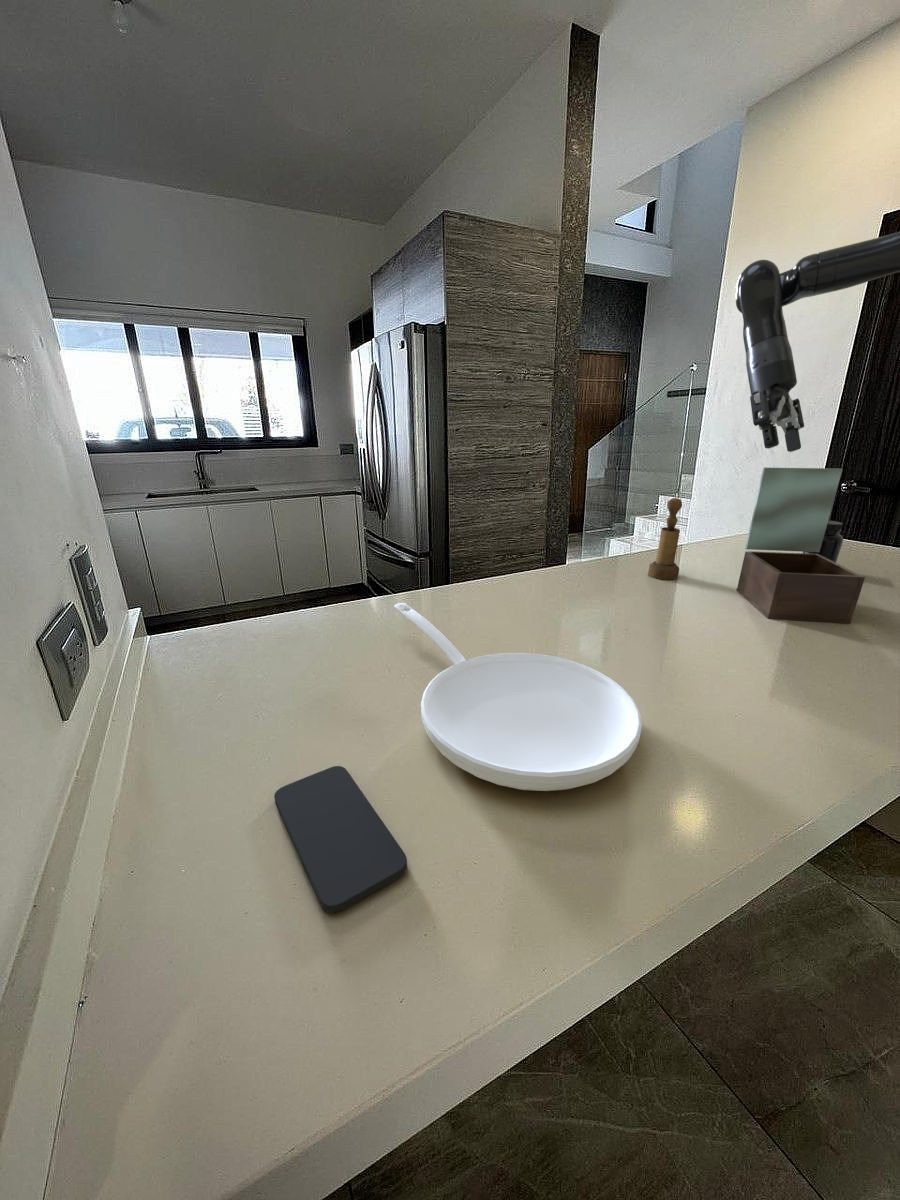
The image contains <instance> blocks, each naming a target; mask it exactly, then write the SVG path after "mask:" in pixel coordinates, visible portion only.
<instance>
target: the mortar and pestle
mask: <svg viewBox="0 0 900 1200" xmlns="http://www.w3.org/2000/svg"><path fill="white" fill-rule="evenodd" d="M666 507H667V510H668V512H669V513H668V514H669V515H668V517H667V518H666V526H664V527H661V529H660V535H659V541H658V546H657V547H658V548H657V553H656V559H655V560H653V562H651V563H650V564H649V566H648V570H647V575H648V576H649V577H651V578H654V579H657V580H661V581H662V580H663V581H673V580H676V579H678V578H679V573H680V567H679V566H678V565H677V563H675V560H676V554H677V550H678V549H677V548H678V545H679V538H680V533H681V530H680V529H679V528H677V527H676V525H677V523H678V521H679V519H678V517H677V514H678V513H679V511H680V510H681V509H682V507H683V501H682V500H681V499H680V498H678V497H672V498H670V499H669V500H668V501H667V504H666Z"/></svg>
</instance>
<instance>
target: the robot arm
mask: <svg viewBox="0 0 900 1200" xmlns="http://www.w3.org/2000/svg"><path fill="white" fill-rule="evenodd" d="M896 273H900V231H897V232H894V233H890V234H887V235H882V236H879V237H876V238H871V239H868V240H863V241H860V242H855V243H851V244H847V245H843V246H839V247H834V248H831V249H827V250H823V251H818V252H817V253H812V254H809V255H806V256H804V257H802V258H800V259H799V260H798V261H797V262H796V264H795V265H794V266H793V267H792V268H791V269H789V270H785V271H783V272H781V271H780V269H779V267H778V266H777V264H776V263H774V262H773V261H771V260H769V259H759V260H755V261H753V262H751V263H750V264H749V265H747V266H746V267H745V268H744V269H743V271H742V272H741V273H740V274H739V277H738V280H737V283H736V293H735V305H736V309H737V310H738V312H739V313H741V314H742V323H743V327H742V337H743V339H742V340H743V345H744V350H745V357H746V358H745V366H746V372H747V378H748V379H747V380H748V384H749V391H750V396H749V401H750V406H751V415H752V423H753V426H754V427H758V429H759V430H760V431H761V432H762V433H761V434H762V440H763V445H764V448H765V449H772V448H775V447H778V446H779V444H780V441H779V435H778V428H777V427H780V428H781V429H782V431H783V433H784V439H785V440H784V441H785V445H786V451H787V452H789V453H793V452H795V451H799V450H800V449H802V441H801V438H800V437H801V436H800V432H799V431H800V430H801V429H803V428H805V423H804V422H805V421H804V416H803V413H802V407H801V403H800V399H799V398H795V399H792V397H791V396H790V391H791V390H792V389H794V388H795V387H796V386H797V384H798V380H797V379H798V378H797V373H796V367H795V361H794V356H793V350H792V345H791V344H790V340H789V338H788V336H789V335H788V331H787V330H788V329H787V325H786V320H785V316H784V311H783V310H784V309H783V307H785V306H788V305H790V304H792V303H795V302H797V301H799V300H802V299H806V298H812V297H815V296H820V295H824V294H829V293H833V292H837V291H841V290H845V289H849V288H853V287H855V286H858V285H862V284H865V283H868V282H871V281H875V280H877V279H880V278H883V277H886V276H890V275H893V274H896Z"/></svg>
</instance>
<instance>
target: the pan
mask: <svg viewBox="0 0 900 1200" xmlns="http://www.w3.org/2000/svg"><path fill="white" fill-rule="evenodd" d="M392 608H393V609H394V610H395V611H396V612H398V613H400V614H401V615H402V616H403V617H404V618H406V619H407V620H409V622H410V623H412V624H413V625H414V626H416V628H418V629H419V630H420V631H421V632H422V633H423V634H425V635H426V637H428V638H429V640H431V641H432V642H433V643H434V645H436V646H437V647H438V648H439V649H440V650H441V651H442V652H443V654H444V655H445V656H446V657H447V658H448V660H449V661H450V662H451V663H452V665H451V666H449V667H447V668H445V669H444V670H442V671H441V672H439V673H438V674H437V675H436V676H435V677H433V679H431V680H430V681H429V683H428V685H427V686H426V688H425V690H424V691H423V694H422V698H421V701H420V710H421V720H422V725H423V727H424V729H425V731H426V734H427V736H428V739H429V740H430V741H431V742H432V743H433V745H434V747H436V749H437V750H438V751H439V753H441V755H442V756H444V758H446V759H447V760H448V761H450V762H451V763H453V764H454V766H456V767H458V768H460V769H462V770H463V771H465V772H466V773H469V774H470V775H473V776H474V777H476V778H479V779H481V780H484V781H487V782H488V783H489V782H490V783H493V784H495V785H498V786H501V787H502V786H503V787H507V788H513V789H517V790H521V791H536V792H537V791H538V792H550V791H551V792H553V791H564V790H571V789H574V788H575V789H576V788H579V787H582V786H587V785H590V784H594V783H596V782H598V781H600V780H602V779H604V778H606V777H609V776H611V775H612V774H614V772H617V770H619V769H620V768H621V767H623V766H624V765H625V764H626V763H627V762H628V761H629V760H630V758H631V757H632V755H633V754H634V753H635V751H636V749H637V747H638V745H639V742H640V738H641V734H642V730H643V722H642V715H641V712H640V709H639V708H638V705H637V703H636V701H635V700H634V699H633V697H632V696H631V695H630V693H628V691H627V690H626V689H625V688H623V687H622V686H621V685H620V684H619V683H617V682H616V681H615V680H613V679H612V678H610V677H608V676H607V675H605V674H603V673H602V672H600V671H598V670H596V669H594V668H592V667H589V666H587V665H584V664H582V663H579V662H576V661H573V660H569V659H567V658H564V657H558V656H554V655H549V654H540V653H534V652H499V653H497V652H496V653H492V654H491V653H490V654H484V655H480V656H476V657H471V658H468V659H466V657H464V656H463V655H462V654H461V652H460V651H459V650H458V649H457V648H456V646H455V645H454V644H453V643H452V642H451V641H450V640H449V639H448V638H447V637H446V636H445V635H444V634H443V633H442V632H441V631H440V630H439V629H438V628H437V627H436V626H435V625H433V623H431V621H429V620H428V619H427V618H426V617H424V616H423V615H421V614H420V613H419V612H418V611H416V610H415V609H413V608H412V607H411V606H409V605H408V604H407V603H405V602H398V603H396V604H394V605H393V607H392Z"/></svg>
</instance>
